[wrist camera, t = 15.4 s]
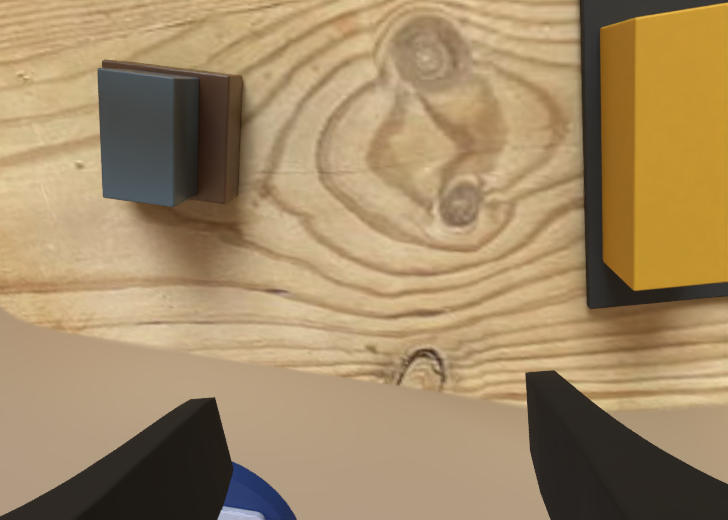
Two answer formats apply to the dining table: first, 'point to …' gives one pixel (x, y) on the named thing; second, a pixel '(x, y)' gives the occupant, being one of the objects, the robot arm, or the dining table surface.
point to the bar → (666, 148)
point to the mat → (604, 287)
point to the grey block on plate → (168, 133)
